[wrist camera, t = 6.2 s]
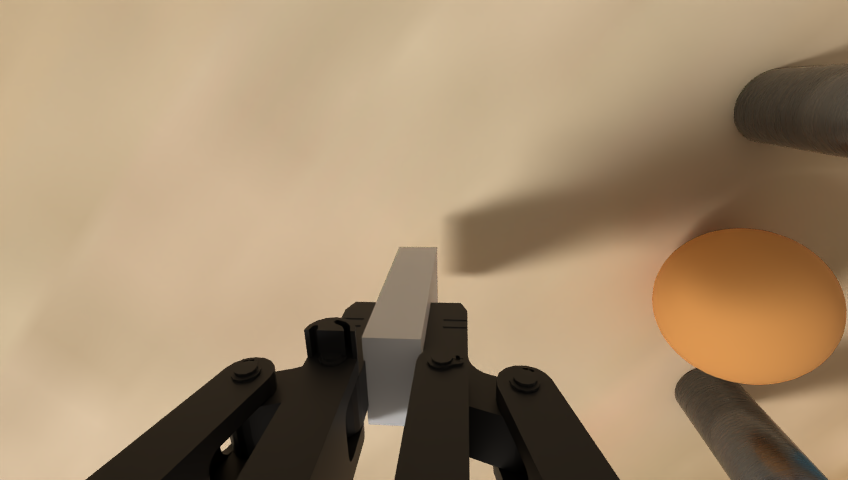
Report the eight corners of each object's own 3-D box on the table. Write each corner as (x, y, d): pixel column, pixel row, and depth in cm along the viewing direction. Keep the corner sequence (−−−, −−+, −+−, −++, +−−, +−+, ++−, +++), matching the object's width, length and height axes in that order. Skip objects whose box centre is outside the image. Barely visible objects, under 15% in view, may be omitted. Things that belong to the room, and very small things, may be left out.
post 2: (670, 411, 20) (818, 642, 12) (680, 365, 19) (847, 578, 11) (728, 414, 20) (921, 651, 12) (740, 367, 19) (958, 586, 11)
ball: (711, 322, 19) (613, 347, 18) (734, 206, 18) (628, 221, 16) (862, 397, 14) (744, 440, 13) (913, 244, 13) (786, 272, 11)
